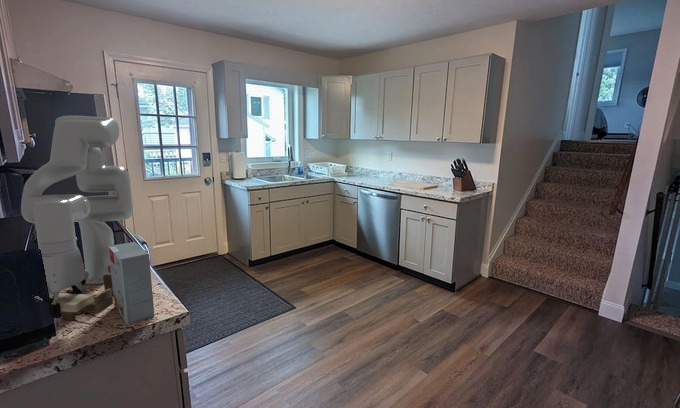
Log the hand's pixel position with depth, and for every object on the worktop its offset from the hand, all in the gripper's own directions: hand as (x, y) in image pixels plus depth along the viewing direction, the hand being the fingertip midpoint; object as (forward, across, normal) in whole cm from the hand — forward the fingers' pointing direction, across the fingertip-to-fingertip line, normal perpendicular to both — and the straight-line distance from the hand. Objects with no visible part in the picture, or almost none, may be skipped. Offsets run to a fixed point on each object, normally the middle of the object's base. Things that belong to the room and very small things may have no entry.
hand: (66, 310), depth 89 cm
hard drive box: (+7, -13, +9) cm, 17 cm away
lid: (-1, 0, 0) cm, 1 cm away
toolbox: (+6, -14, -6) cm, 17 cm away
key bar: (-1, -32, -6) cm, 33 cm away
